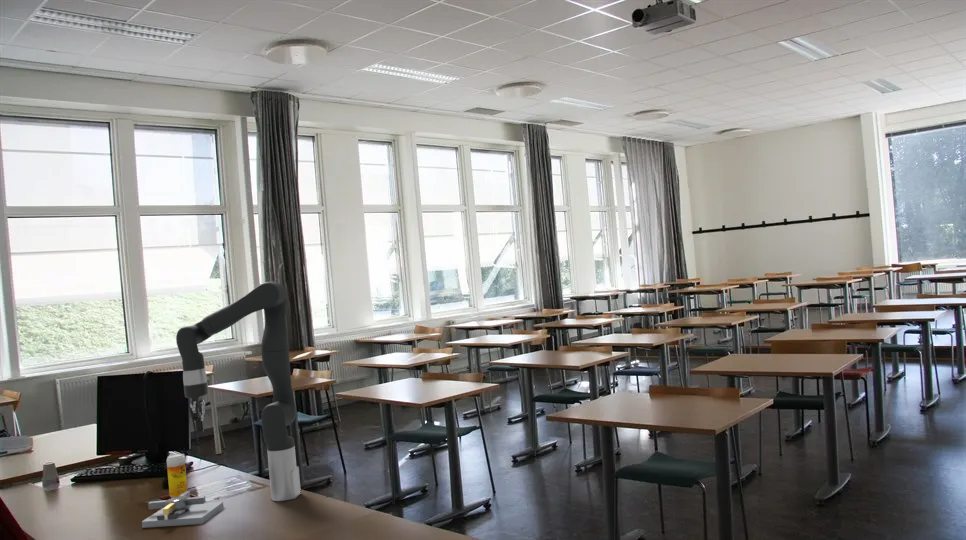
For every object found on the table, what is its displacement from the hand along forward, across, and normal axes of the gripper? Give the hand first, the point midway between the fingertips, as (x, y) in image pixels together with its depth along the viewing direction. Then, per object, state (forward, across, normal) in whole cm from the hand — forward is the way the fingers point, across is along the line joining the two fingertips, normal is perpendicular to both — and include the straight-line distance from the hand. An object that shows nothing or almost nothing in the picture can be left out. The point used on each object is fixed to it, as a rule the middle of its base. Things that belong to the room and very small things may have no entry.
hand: (200, 431), depth 240 cm
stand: (+25, -12, +5) cm, 28 cm away
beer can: (+25, +16, +13) cm, 32 cm away
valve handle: (+23, -11, +7) cm, 27 cm away
